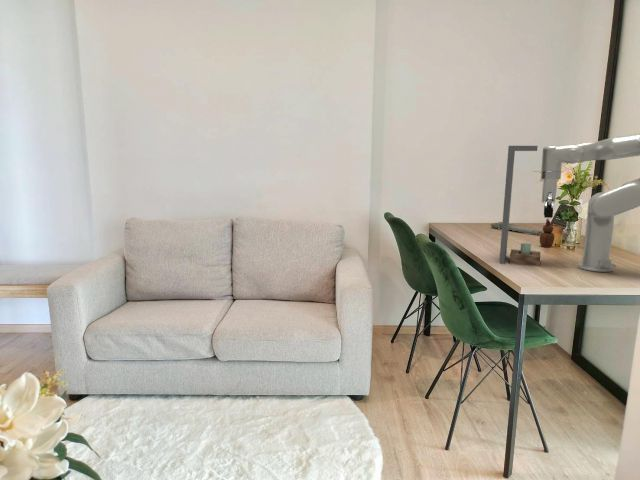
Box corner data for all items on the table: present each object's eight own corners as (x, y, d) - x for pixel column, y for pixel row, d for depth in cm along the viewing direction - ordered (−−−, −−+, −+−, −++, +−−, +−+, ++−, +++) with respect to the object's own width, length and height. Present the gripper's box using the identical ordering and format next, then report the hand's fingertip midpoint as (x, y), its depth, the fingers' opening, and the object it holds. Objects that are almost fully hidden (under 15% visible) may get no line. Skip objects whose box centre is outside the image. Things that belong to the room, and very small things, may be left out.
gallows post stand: (527, 258, 218) (537, 146, 209) (526, 265, 203) (537, 145, 194) (501, 256, 222) (510, 146, 213) (499, 263, 208) (508, 145, 199)
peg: (531, 262, 210) (533, 244, 208) (523, 263, 208) (525, 245, 207) (525, 260, 213) (526, 243, 212) (517, 261, 212) (519, 243, 211)
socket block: (539, 260, 214) (540, 251, 213) (539, 266, 203) (540, 256, 202) (510, 257, 219) (511, 249, 218) (509, 263, 208) (510, 254, 207)
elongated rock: (536, 238, 279) (545, 238, 284) (537, 229, 278) (547, 229, 283) (486, 227, 307) (496, 227, 313) (487, 219, 306) (497, 219, 312)
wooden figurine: (544, 248, 242) (547, 218, 240) (536, 246, 248) (539, 217, 245) (555, 247, 244) (558, 218, 241) (547, 245, 250) (550, 216, 247)
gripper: (540, 174, 211) (538, 213, 213) (541, 176, 195) (538, 218, 198) (559, 175, 208) (557, 214, 210) (561, 176, 192) (558, 219, 195)
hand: (548, 216), depth 204 cm, fingers open, 9 cm apart
